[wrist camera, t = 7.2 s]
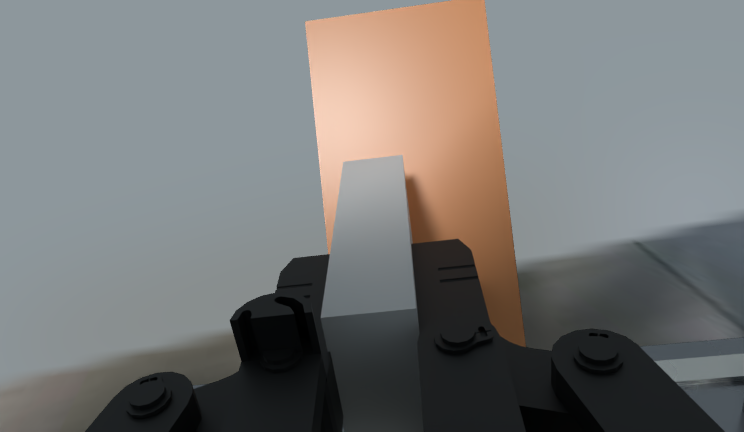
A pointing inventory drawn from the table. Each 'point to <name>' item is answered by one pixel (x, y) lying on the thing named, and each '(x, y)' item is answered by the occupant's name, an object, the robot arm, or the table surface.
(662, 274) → the table surface
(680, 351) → the grey slotted holder
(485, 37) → the lever
